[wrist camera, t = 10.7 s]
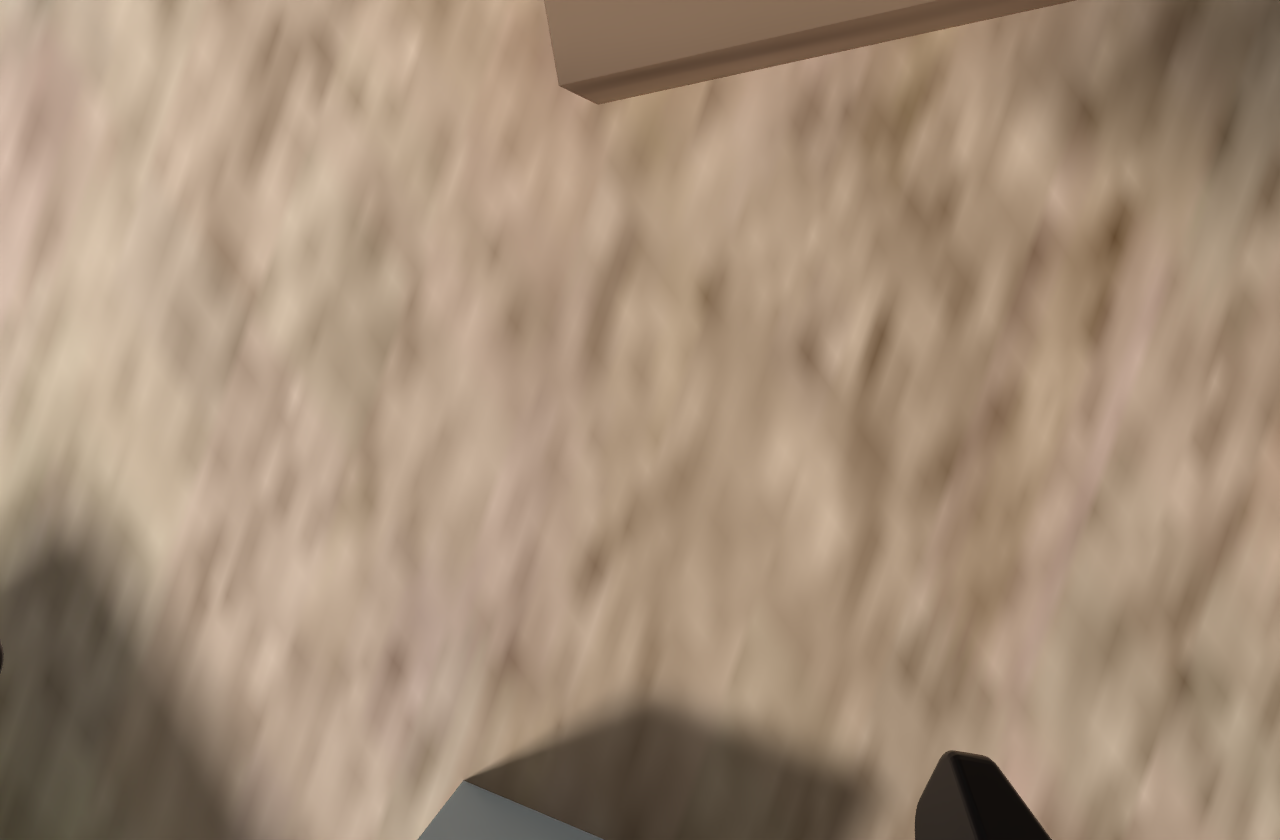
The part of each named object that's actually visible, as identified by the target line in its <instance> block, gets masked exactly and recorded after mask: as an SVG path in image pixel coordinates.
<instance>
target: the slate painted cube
mask: <svg viewBox="0 0 1280 840" xmlns="http://www.w3.org/2000/svg"><path fill="white" fill-rule="evenodd" d="M418 840H604V839H602V838H600V837H597V836H595V835H592V834H590V833H588V832H585V831H583V830H580V829H578V828H576V827H573V826H571V825H569V824H566V823H564V822H561V821H559V820H557V819H554V818H552V817H549V816H547V815H545V814H542V813H540V812H538V811H535V810H533V809H530V808H528V807H526V806H523V805H521V804H519V803H516V802H514V801H511V800H509V799H507V798H504V797H502V796H499V795H497V794H495V793H492V792H490V791H488V790H485V789H483V788H480V787H478V786H476V785H473V784H471V783H468V782H466V781H464V780H463V782H462V783H461V784H460V786H459V787H458V788H457V789H456V791H455V792H454V793H453V795H452V796H451V797H450V798H449V800H448V801H447V802H446V804H445V805H444V806H443V807H442V809H441V810H440V811H439V813H438V814H437V815H436V816H435V818H434V819H433V820H432V822H431V823H430V824H429V825H428V827H427V828H426V829H425V831H424V832H423V833H422V835H421V836H420V837H419V838H418Z"/></svg>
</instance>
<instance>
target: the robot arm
mask: <svg viewBox="0 0 1280 840" xmlns="http://www.w3.org/2000/svg"><path fill="white" fill-rule="evenodd" d="M2 665H3V648H2V645H1V641H0V673H1V670H2ZM915 840H1052V839H1051V838H1050V837H1049V835H1048V834H1047V833H1046V831H1045V830H1044V828H1043V827H1042V826H1041V824H1040V823H1039V822H1038V820H1037V819H1036V818H1035V816H1034V815H1033V814H1032V812H1031V811H1030V809H1029V808H1028V807H1027V805H1026V804H1025V803H1024V801H1023V800H1022V799H1021V797H1020V796H1019V795H1018V793H1017V792H1016V790H1015V789H1014V788H1013V786H1012V785H1011V784H1010V782H1009V781H1008V780H1007V778H1006V777H1005V776H1004V774H1003V773H1002V771H1001V770H1000V769H999V767H998V766H997V765H996V764H995V763H994V762H993V761H992V760H991V759H990V758H988V757H986V756H983V755H978V754H972V753H966V752H959V751H948V752H946V753H945V754H943V755H942V757H941V758H940V760H939V762H938V764H937V766H936V768H935V770H934V772H933V774H932V776H931V778H930V780H929V781H928V783H927V785H926V787H925V789H924V791H923V793H922V795H921V797H920V800H919V802H918V805H917V809H916V815H915Z"/></svg>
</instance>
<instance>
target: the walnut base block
mask: <svg viewBox="0 0 1280 840" xmlns="http://www.w3.org/2000/svg"><path fill="white" fill-rule="evenodd" d="M1070 1H1075V0H544V2H545V8H546V14H547V20H548V25H549V31H550V37H551V43H552V48H553V54H554V60H555V66H556V71H557V77H558V83H559V86H561V87H563V88H565V89H567V90H569V91H571V92H573V93H575V94H577V95H579V96H581V97H583V98H585V99H588V100H590V101H592V102H594V103H596V104H603V103H607V102H612V101H616V100H621V99H626V98H630V97H635V96H639V95H644V94H648V93H653V92H658V91H662V90H667V89H671V88H676V87H681V86H685V85H690V84H694V83H699V82H703V81H708V80H713V79H717V78H722V77H726V76H731V75H736V74H740V73H745V72H749V71H754V70H758V69H763V68H768V67H772V66H777V65H781V64H786V63H791V62H795V61H800V60H804V59H809V58H813V57H818V56H823V55H827V54H832V53H836V52H841V51H845V50H850V49H855V48H859V47H864V46H868V45H873V44H878V43H882V42H887V41H891V40H896V39H900V38H905V37H910V36H914V35H919V34H923V33H928V32H933V31H937V30H942V29H946V28H951V27H955V26H960V25H965V24H969V23H974V22H978V21H983V20H988V19H992V18H997V17H1001V16H1006V15H1010V14H1015V13H1020V12H1024V11H1029V10H1033V9H1038V8H1043V7H1047V6H1052V5H1056V4H1061V3H1065V2H1070Z"/></svg>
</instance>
